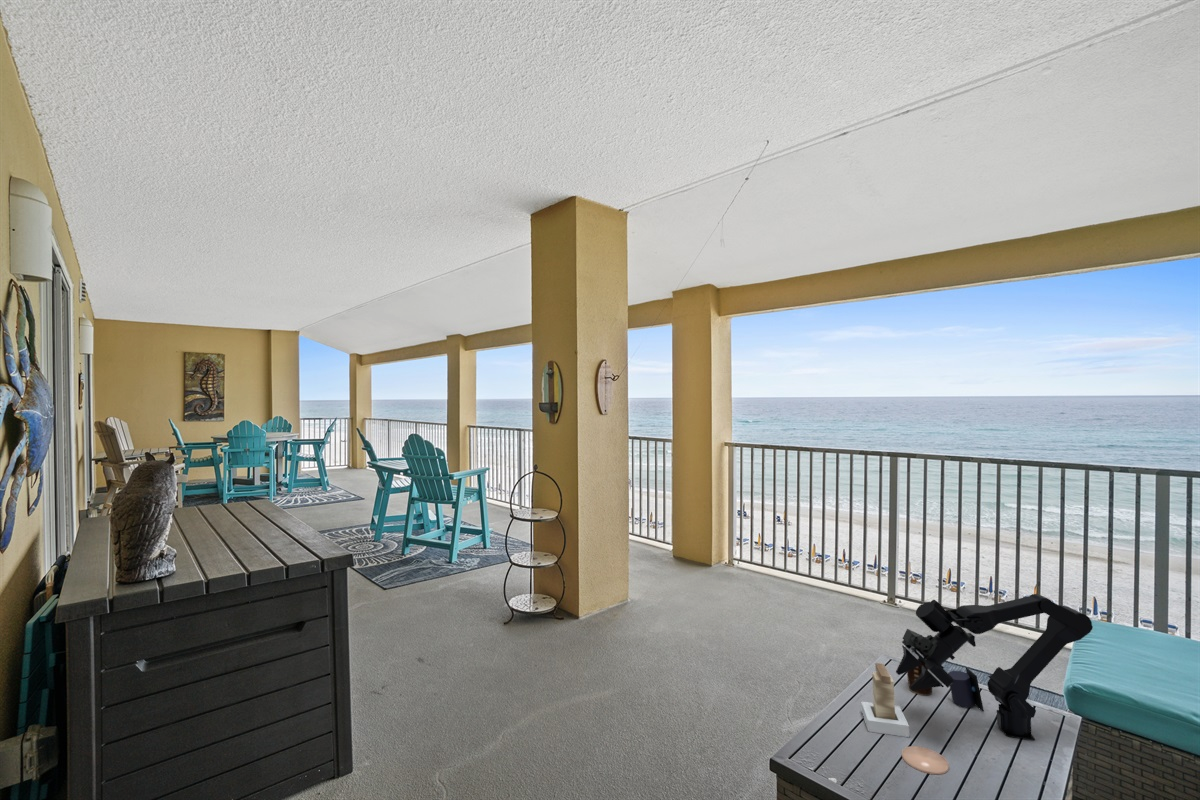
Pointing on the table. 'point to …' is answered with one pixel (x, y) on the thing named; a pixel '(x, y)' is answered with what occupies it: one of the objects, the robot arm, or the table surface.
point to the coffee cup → (913, 675)
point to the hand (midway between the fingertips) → (903, 681)
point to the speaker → (965, 689)
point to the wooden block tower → (883, 693)
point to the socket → (885, 721)
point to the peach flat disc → (925, 760)
